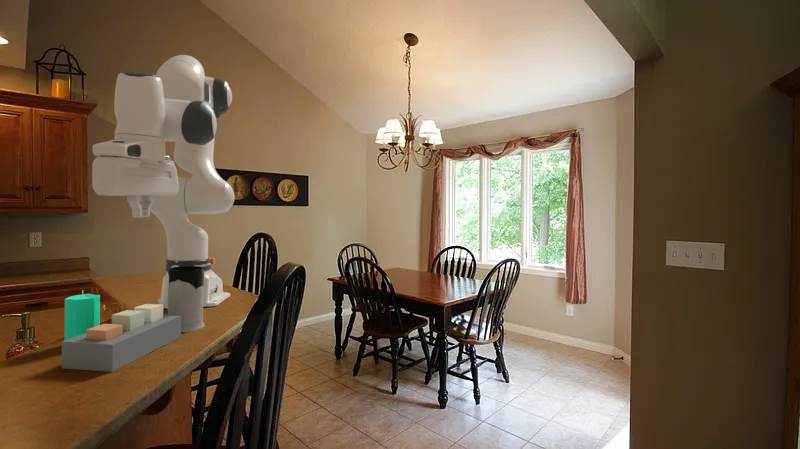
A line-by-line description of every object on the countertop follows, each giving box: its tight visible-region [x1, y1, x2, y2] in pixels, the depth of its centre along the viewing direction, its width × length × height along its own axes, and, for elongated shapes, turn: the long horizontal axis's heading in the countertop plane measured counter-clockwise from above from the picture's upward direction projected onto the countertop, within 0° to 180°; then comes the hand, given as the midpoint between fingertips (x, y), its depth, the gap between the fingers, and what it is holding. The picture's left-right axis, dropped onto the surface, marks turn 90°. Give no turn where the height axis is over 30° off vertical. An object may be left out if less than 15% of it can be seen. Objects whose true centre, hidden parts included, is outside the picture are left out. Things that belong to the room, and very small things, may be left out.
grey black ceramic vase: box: [167, 266, 205, 333], centre depth 103 cm, size 9×14×15 cm, turn 3°
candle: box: [64, 289, 101, 341], centre depth 86 cm, size 6×6×12 cm
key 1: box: [86, 323, 123, 341], centre depth 77 cm, size 4×4×6 cm
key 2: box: [133, 303, 164, 323], centre depth 89 cm, size 4×4×6 cm
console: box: [61, 314, 182, 373], centre depth 83 cm, size 20×10×5 cm, turn 176°
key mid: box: [111, 309, 145, 331], centre depth 83 cm, size 4×4×6 cm
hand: (141, 217), depth 84 cm, fingers closed
